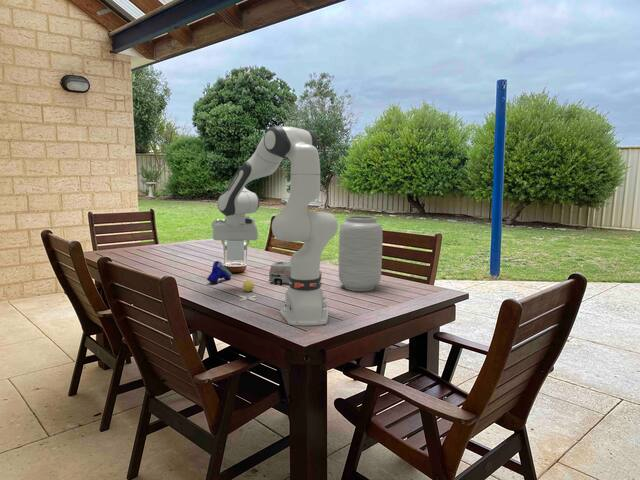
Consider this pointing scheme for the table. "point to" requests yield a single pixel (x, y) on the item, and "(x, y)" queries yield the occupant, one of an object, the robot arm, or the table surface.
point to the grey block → (235, 249)
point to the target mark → (247, 298)
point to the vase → (360, 253)
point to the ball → (248, 285)
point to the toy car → (281, 273)
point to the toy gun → (219, 273)
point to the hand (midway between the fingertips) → (235, 249)
